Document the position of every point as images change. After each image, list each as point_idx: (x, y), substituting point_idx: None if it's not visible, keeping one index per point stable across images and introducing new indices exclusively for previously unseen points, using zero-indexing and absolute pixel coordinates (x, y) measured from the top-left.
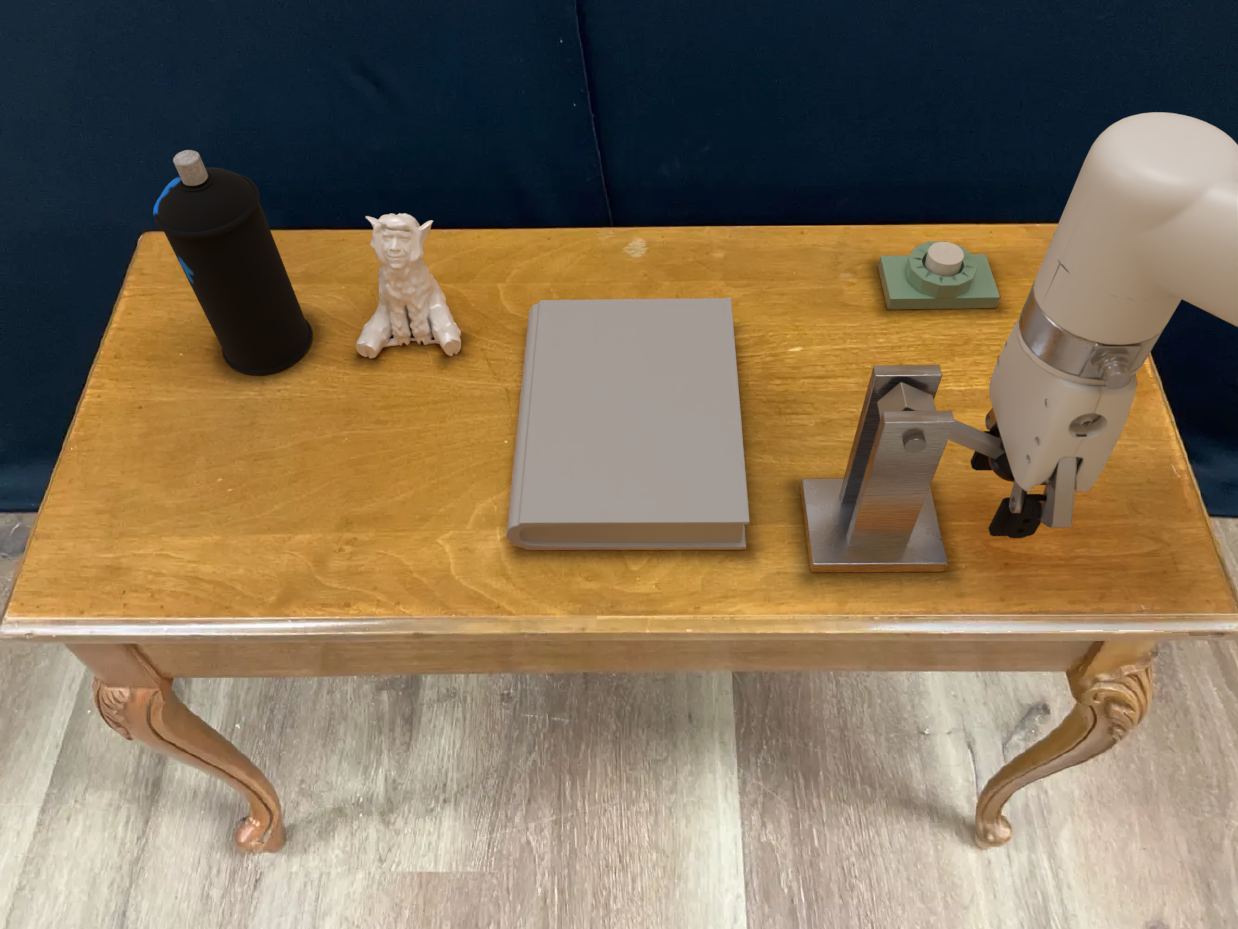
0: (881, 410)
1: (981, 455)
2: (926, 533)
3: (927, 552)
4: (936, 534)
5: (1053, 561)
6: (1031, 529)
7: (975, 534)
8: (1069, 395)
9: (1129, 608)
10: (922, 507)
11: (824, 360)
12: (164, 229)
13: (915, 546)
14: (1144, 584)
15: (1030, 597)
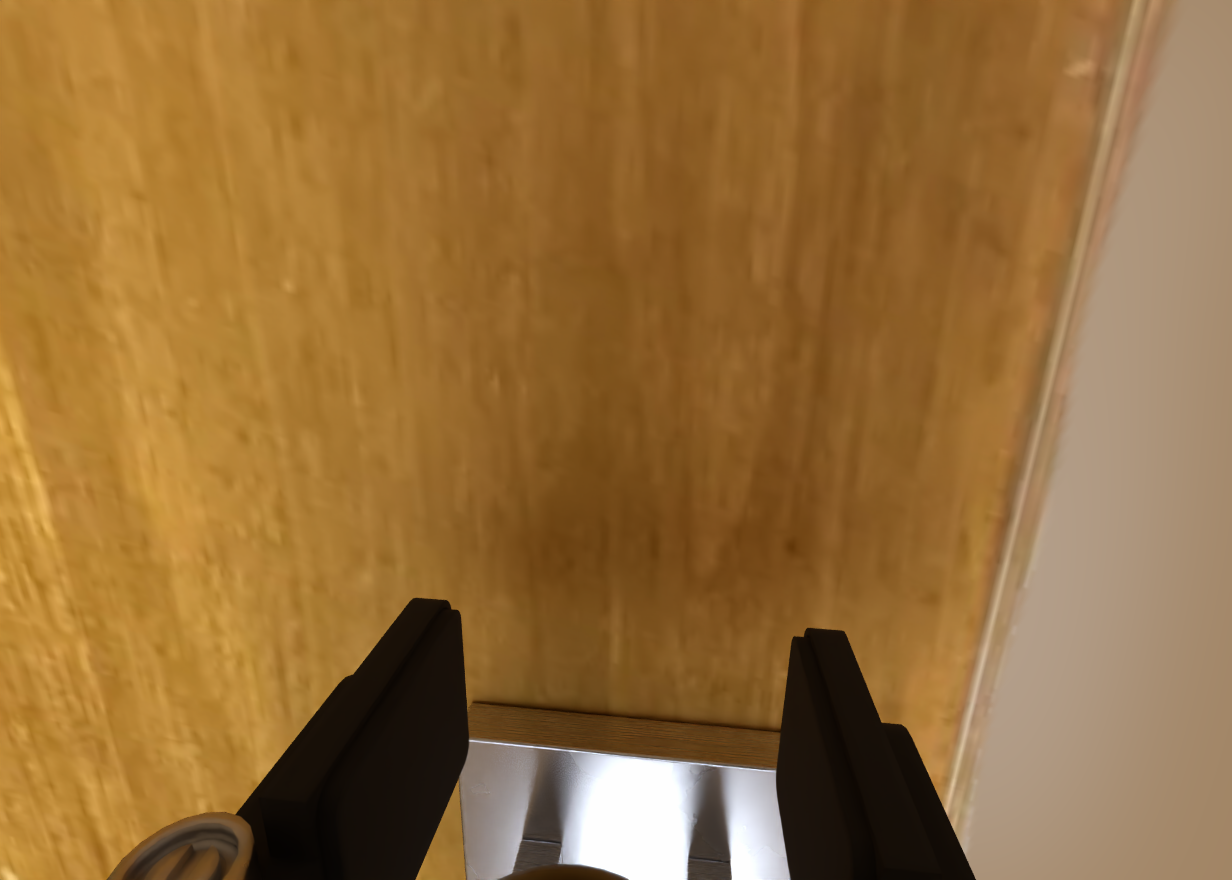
0: None
1: (426, 842)
2: (684, 801)
3: (759, 816)
4: (688, 773)
5: (800, 381)
6: (923, 773)
7: (662, 607)
8: None
9: (1074, 134)
10: (578, 783)
11: (33, 829)
12: None
13: (731, 838)
14: (968, 18)
15: (941, 507)
